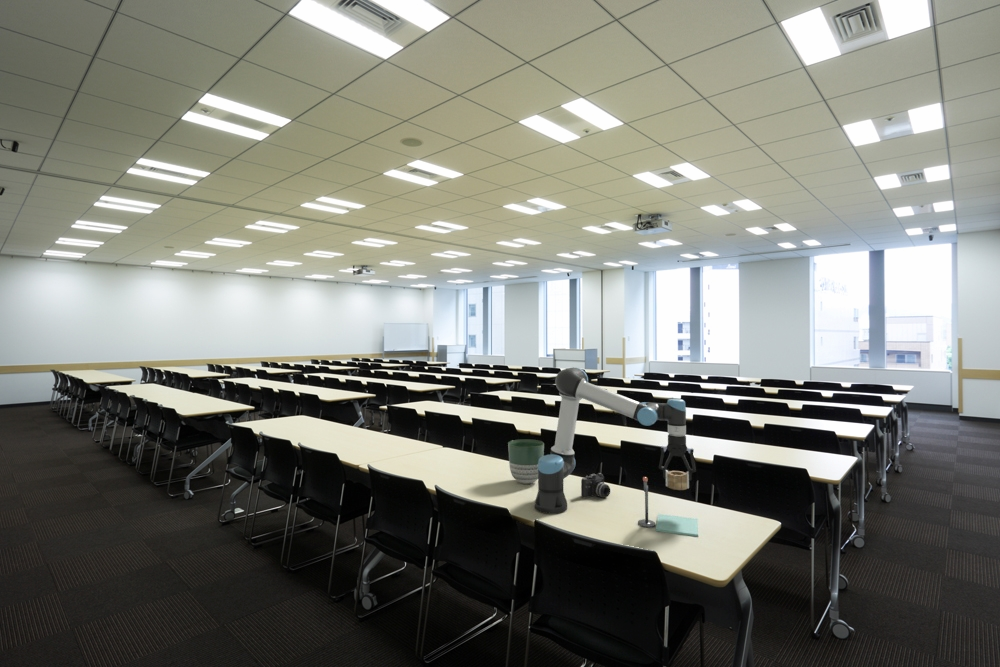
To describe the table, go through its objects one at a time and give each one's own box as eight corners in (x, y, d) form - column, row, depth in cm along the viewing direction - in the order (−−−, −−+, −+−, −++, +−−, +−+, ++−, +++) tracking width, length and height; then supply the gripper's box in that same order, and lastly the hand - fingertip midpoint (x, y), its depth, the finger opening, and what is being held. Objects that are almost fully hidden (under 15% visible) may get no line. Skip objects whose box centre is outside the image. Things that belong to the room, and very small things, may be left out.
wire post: (636, 529, 201) (636, 476, 201) (638, 520, 211) (638, 470, 211) (654, 531, 199) (654, 478, 199) (655, 522, 208) (655, 471, 209)
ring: (667, 488, 212) (667, 474, 212) (667, 483, 220) (667, 470, 220) (687, 490, 210) (686, 476, 210) (687, 485, 217) (686, 471, 217)
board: (655, 531, 199) (655, 529, 199) (658, 515, 216) (658, 513, 216) (698, 536, 194) (698, 534, 194) (697, 520, 210) (697, 518, 210)
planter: (506, 478, 275) (506, 439, 275) (540, 476, 277) (540, 438, 277) (510, 488, 256) (510, 447, 256) (547, 487, 258) (547, 446, 258)
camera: (595, 502, 235) (595, 481, 235) (579, 496, 243) (578, 476, 243) (615, 496, 243) (615, 476, 243) (598, 490, 252) (598, 471, 252)
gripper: (651, 434, 215) (651, 486, 215) (702, 437, 208) (703, 491, 208) (652, 431, 222) (653, 481, 222) (702, 434, 215) (702, 486, 215)
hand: (677, 486), depth 215 cm, fingers closed on ring, 8 cm apart
